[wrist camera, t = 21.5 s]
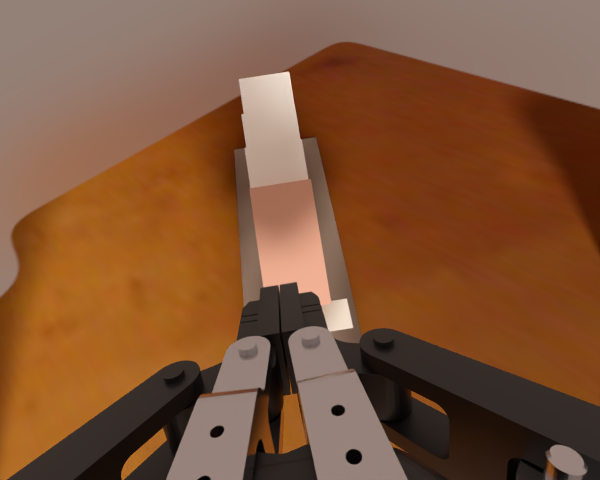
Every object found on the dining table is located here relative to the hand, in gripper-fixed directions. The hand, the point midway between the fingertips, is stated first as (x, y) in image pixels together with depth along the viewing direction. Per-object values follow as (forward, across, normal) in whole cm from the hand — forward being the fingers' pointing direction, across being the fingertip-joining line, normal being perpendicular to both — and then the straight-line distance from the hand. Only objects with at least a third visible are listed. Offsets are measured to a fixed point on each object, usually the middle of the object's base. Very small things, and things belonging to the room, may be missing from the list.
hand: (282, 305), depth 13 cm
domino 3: (+14, -1, +3) cm, 15 cm away
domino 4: (+11, -1, +6) cm, 13 cm away
